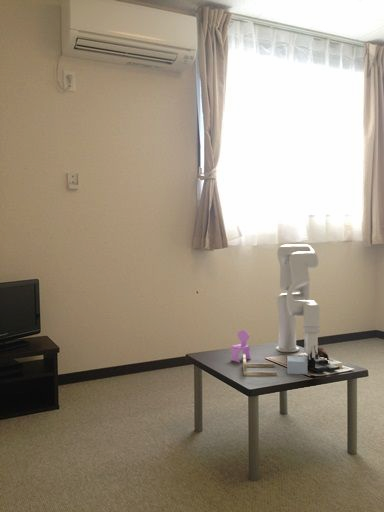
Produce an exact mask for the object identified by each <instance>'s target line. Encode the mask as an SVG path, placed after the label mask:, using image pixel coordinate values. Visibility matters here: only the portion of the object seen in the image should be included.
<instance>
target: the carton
mask: <svg viewBox="0 0 384 512" xmlns="http://www.w3.org/2000/svg"><path fill="white" fill-rule="evenodd" d="M286 359H287V360H286V361H287V362H286V370H287V375H288V374H289V375H290V374H292V375H308V357H307V356H297V355H296V356H293V355H292V356H291V355H287V356H286Z"/></svg>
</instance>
